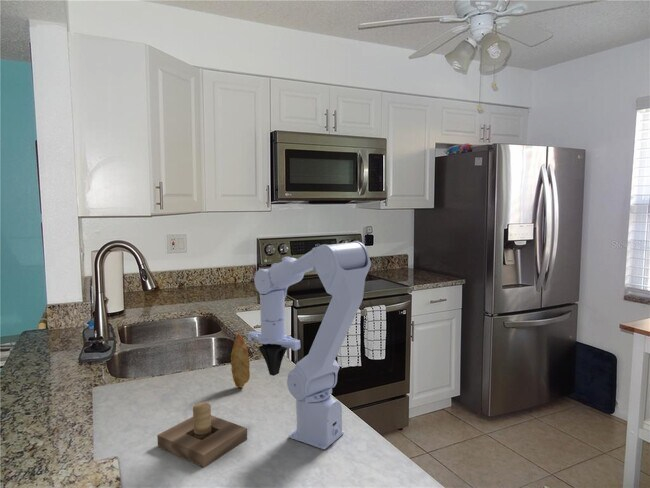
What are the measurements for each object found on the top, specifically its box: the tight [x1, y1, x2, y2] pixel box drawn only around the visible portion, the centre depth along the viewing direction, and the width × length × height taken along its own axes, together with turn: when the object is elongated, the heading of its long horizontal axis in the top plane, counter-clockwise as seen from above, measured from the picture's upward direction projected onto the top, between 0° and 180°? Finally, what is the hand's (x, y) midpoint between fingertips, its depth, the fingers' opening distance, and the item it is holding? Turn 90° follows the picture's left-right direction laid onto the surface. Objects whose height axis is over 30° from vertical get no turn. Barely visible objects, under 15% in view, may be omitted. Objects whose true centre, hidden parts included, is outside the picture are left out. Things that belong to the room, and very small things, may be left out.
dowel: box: [192, 402, 212, 440], centre depth 95 cm, size 4×4×8 cm
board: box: [156, 414, 248, 468], centre depth 95 cm, size 14×12×2 cm
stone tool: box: [230, 332, 251, 388], centre depth 123 cm, size 5×2×15 cm, turn 93°
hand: (274, 373), depth 108 cm, fingers closed
